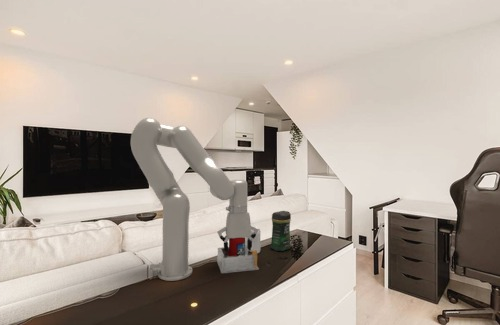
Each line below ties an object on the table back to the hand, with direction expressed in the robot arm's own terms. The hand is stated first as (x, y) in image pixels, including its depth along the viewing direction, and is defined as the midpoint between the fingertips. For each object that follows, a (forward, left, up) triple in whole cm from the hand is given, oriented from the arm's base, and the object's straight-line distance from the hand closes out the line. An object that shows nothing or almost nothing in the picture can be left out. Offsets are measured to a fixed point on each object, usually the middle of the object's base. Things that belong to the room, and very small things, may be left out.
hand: (237, 250), depth 107 cm
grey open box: (0, 0, -6) cm, 6 cm away
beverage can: (0, 0, -6) cm, 6 cm away
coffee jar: (+25, +14, -6) cm, 29 cm away
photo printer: (+10, +15, -6) cm, 19 cm away
